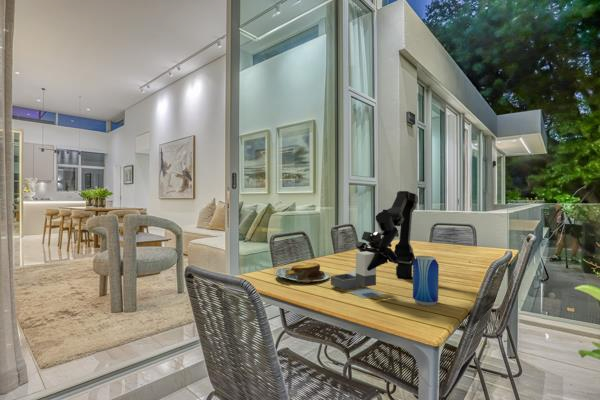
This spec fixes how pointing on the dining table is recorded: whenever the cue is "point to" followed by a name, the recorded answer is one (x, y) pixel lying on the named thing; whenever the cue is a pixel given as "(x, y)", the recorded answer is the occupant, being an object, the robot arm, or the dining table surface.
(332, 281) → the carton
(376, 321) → the dining table surface
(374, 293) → the rubber mat
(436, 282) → the beer can
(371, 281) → the box
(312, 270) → the food on plate
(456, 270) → the dining table surface
